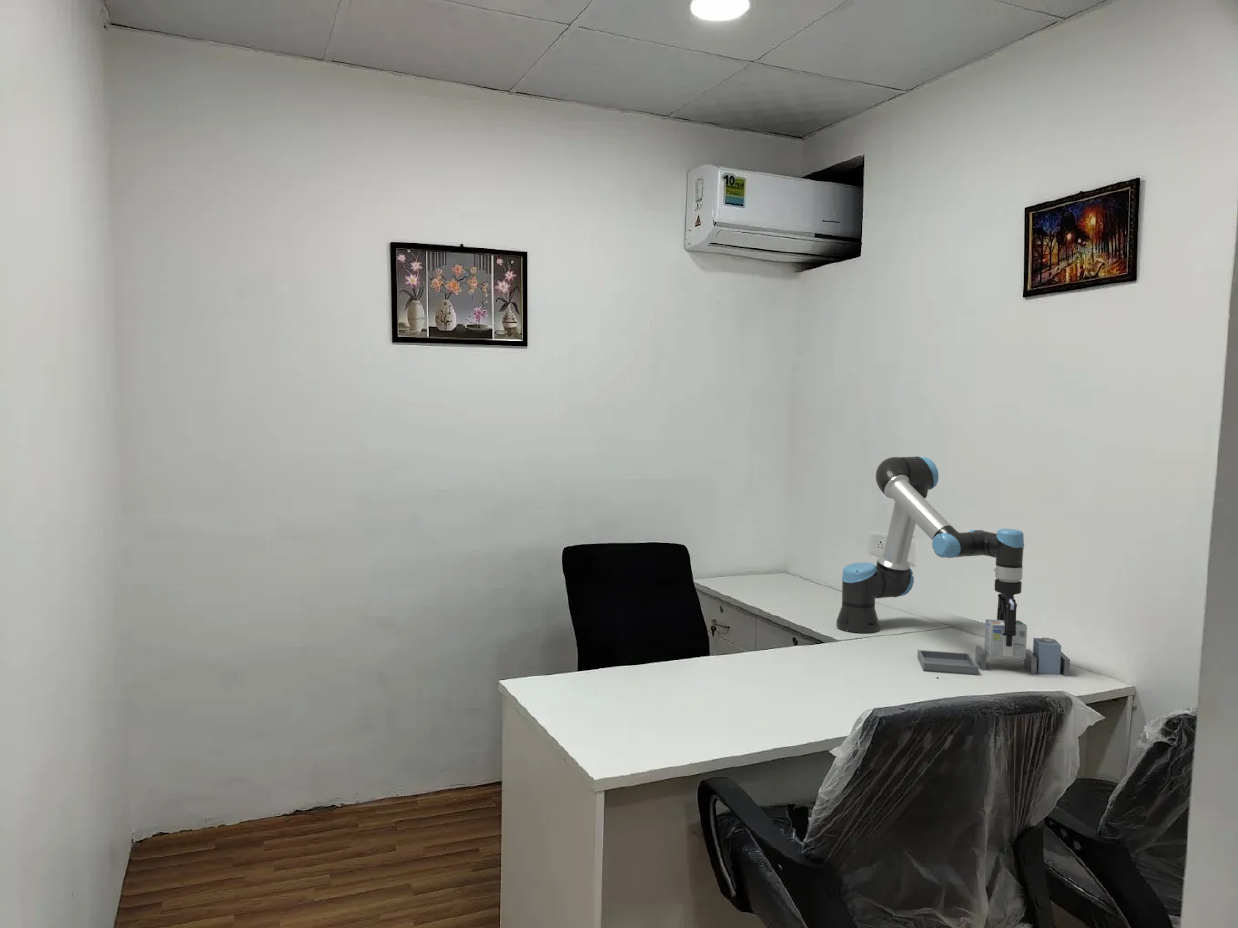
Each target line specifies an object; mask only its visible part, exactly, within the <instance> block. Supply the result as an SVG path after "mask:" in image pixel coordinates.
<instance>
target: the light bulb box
mask: <svg viewBox="0 0 1238 928" xmlns="http://www.w3.org/2000/svg"><path fill="white" fill-rule="evenodd" d="M984 624H985V628H984V629H985V631H984V651H985V653H986V654H987V656H988V657H989V659H1008V660H1024V659H1026V649H1027V637H1028V625H1027V624H1026V623H1024V622H1023V621H1021V620H1017V619H1016V636H1014V640H1013V657H1008V656H1003V637H1004V636H1003V635H1002V633H1005V625H1004V620H997V619H987V618H986V619H985V623H984Z"/></svg>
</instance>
